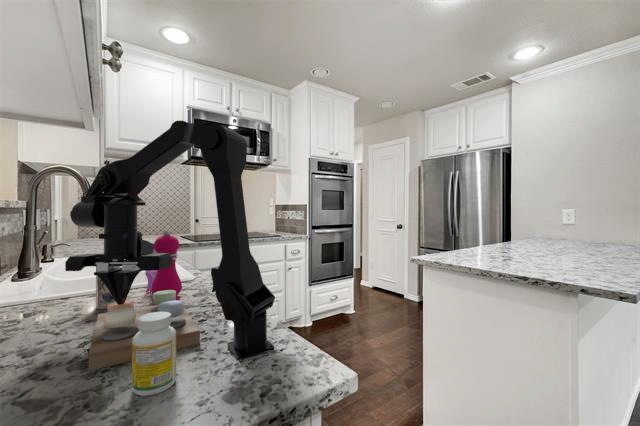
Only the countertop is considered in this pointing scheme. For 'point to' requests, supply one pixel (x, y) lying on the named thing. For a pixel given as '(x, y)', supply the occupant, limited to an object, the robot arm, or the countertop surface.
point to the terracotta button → (120, 305)
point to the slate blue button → (172, 307)
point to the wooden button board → (117, 341)
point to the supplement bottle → (154, 354)
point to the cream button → (120, 317)
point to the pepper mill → (169, 275)
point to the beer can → (102, 294)
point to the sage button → (164, 296)
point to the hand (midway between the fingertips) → (121, 303)
